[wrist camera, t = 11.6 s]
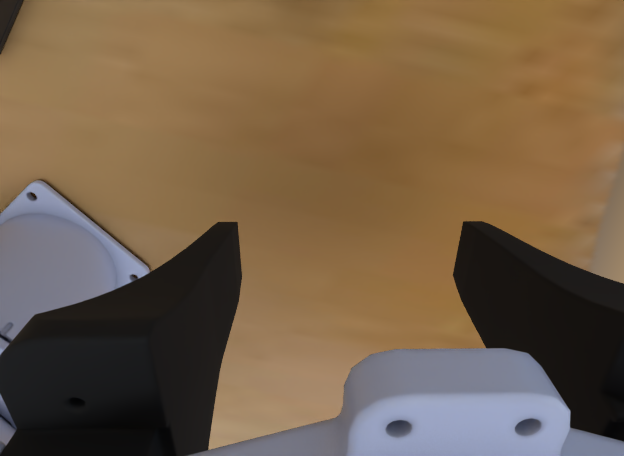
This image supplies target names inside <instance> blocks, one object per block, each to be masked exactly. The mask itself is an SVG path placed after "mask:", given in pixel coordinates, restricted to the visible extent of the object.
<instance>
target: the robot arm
mask: <svg viewBox="0 0 624 456" xmlns="http://www.w3.org/2000/svg"><path fill="white" fill-rule="evenodd" d="M31 192H32V193H34V194H35V195H36V197H37V198H35V197H33V196H32V195H31ZM132 274H134V275H137V276H138V278H135V277H133V276H132ZM453 277H454V280H455V283H456V286H457V289H458V292H459V295H460V298H461V300H462V302H463V304H464V307H465V308H466V310H467V312H468V314H469V316H470V318H471V320H472V322H473V324H474V326H475V328H476V330H477V331H478V333H479V335H480V337H481V339H482V341H483V343H484V345H485V346H486V348H481V349H394V350H389V351H384V352H379V353H375V354H371V355H369V356H368V357H366V358H365V359H364V360H362V361H361V362H359V363H358V364H357V365H355V366H354V367H352V368H351V371H350V373H349V375H348V378H347V380H346V382H345V384H344V396H343V406H342V410H341V413H340V414H339V416H337V417H336V418H333V419H329V420H325V421H321V422H317V423H313V424H309V425H305V426H301V427H297V428H293V429H289V430H285V431H281V432H278V433H274V434H270V435H266V436H262V437H258V438H254V439H250V440H246V441H242V442H238V443H234V444H230V445H227V446H223V447H219V448H215V449H211V450H208V446H209V438H210V431H211V424H212V417H213V411H214V404H215V397H216V391H217V385H218V379H219V373H220V368H221V363H222V359H223V355H224V352H225V348H226V344H227V341H228V337H229V334H230V330H231V327H232V323H233V320H234V316H235V313H236V309H237V305H238V302H239V295H240V287H241V280H242V271H241V259H240V247H239V235H238V223H237V222H218V223H216V224H215V225H214V226H212V227H211V228H210V229H209V230H208V231H207V232H205V233H204V234H203V235H202V236H201V237H199V238H198V239H197V240H196V241H195V242H193V243H192V244H191V245H190V246H188V247H187V248H186V249H184V250H183V251H182V252H180V253H179V254H177V255H176V256H175V257H173V258H172V259H171V260H169V261H168V262H166V263H165V264H163V265H162V266H160V267H158V268H157V269H155V270H153V271H152V272H150V270H149V268H148V267H147V266H146V265H145V264H144V263H143V262H141V261H140V260H139V259H138V258H137V257H135V256H134V255H133V254H132V253H131V252H129V251H128V250H127V249H126V248H124V247H123V246H122V245H121V244H120V243H118V242H117V241H116V240H115V239H113V238H112V237H111V236H110V235H109V234H107V233H106V232H105V231H104V230H102V229H101V228H100V227H99V226H98V225H96V224H95V223H94V222H93V221H91V220H90V219H89V218H88V217H87V216H85V215H84V214H83V213H82V212H81V211H79V210H78V209H77V208H76V207H74V206H73V205H72V204H71V203H70V202H68V201H67V200H66V199H65V198H63V197H62V196H61V195H60V194H59V193H57V192H56V191H55V190H54V189H52V188H51V187H50V186H49V185H48V184H46V183H45V182H43V181H40V180H35V181H33V182H32V183H30V184H29V185H28V186H27V187H26V188H25V189H24V190H23V191H22V192H21V193H20V194H19V195H18V196H17V197H16V198H15V199H14V200H13V201H12V203H11V204H10V205H9V206H8V207H7V208H6V209H5V210H4V211H3V212H2V213H1V214H0V456H624V284H623V283H619V282H616V281H613V280H610V279H607V278H604V277H601V276H599V275H596V274H593V273H591V272H588V271H586V270H583V269H580V268H578V267H575V266H573V265H571V264H568V263H566V262H564V261H562V260H559V259H557V258H555V257H553V256H551V255H549V254H547V253H545V252H543V251H541V250H539V249H537V248H535V247H533V246H531V245H529V244H527V243H525V242H523V241H521V240H519V239H518V238H516V237H514V236H512V235H510V234H508V233H506V232H504V231H502V230H501V229H499V228H497V227H495V226H492V225H490V224H488V223H485V222H482V221H465V222H463V226H462V231H461V236H460V241H459V246H458V251H457V257H456V262H455V267H454V272H453Z"/></svg>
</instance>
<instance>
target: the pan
mask: <svg viewBox="0 0 624 456" xmlns="http://www.w3.org/2000/svg"><path fill="white" fill-rule="evenodd" d="M22 2H23V0H0V53H1V51H2V49H3V46H4V44H5V42H6V39H7V37H8V35H9V32H10V30H11V28H12V25H13V23H14V21H15V18H16V16H17V14H18V11H19V9H20V7H21V4H22Z"/></svg>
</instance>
